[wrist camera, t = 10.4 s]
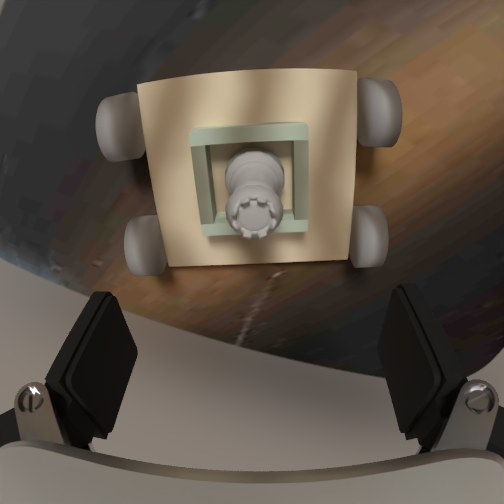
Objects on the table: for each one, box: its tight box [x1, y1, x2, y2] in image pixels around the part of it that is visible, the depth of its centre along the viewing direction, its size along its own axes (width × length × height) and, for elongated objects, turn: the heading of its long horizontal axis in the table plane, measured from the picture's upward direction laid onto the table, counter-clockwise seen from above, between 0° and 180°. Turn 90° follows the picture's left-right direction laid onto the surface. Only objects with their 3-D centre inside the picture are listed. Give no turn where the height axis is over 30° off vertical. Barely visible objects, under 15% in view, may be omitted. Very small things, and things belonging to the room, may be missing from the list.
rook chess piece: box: [225, 147, 284, 240], centre depth 21 cm, size 4×4×8 cm
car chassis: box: [96, 69, 402, 276], centre depth 23 cm, size 20×16×5 cm
